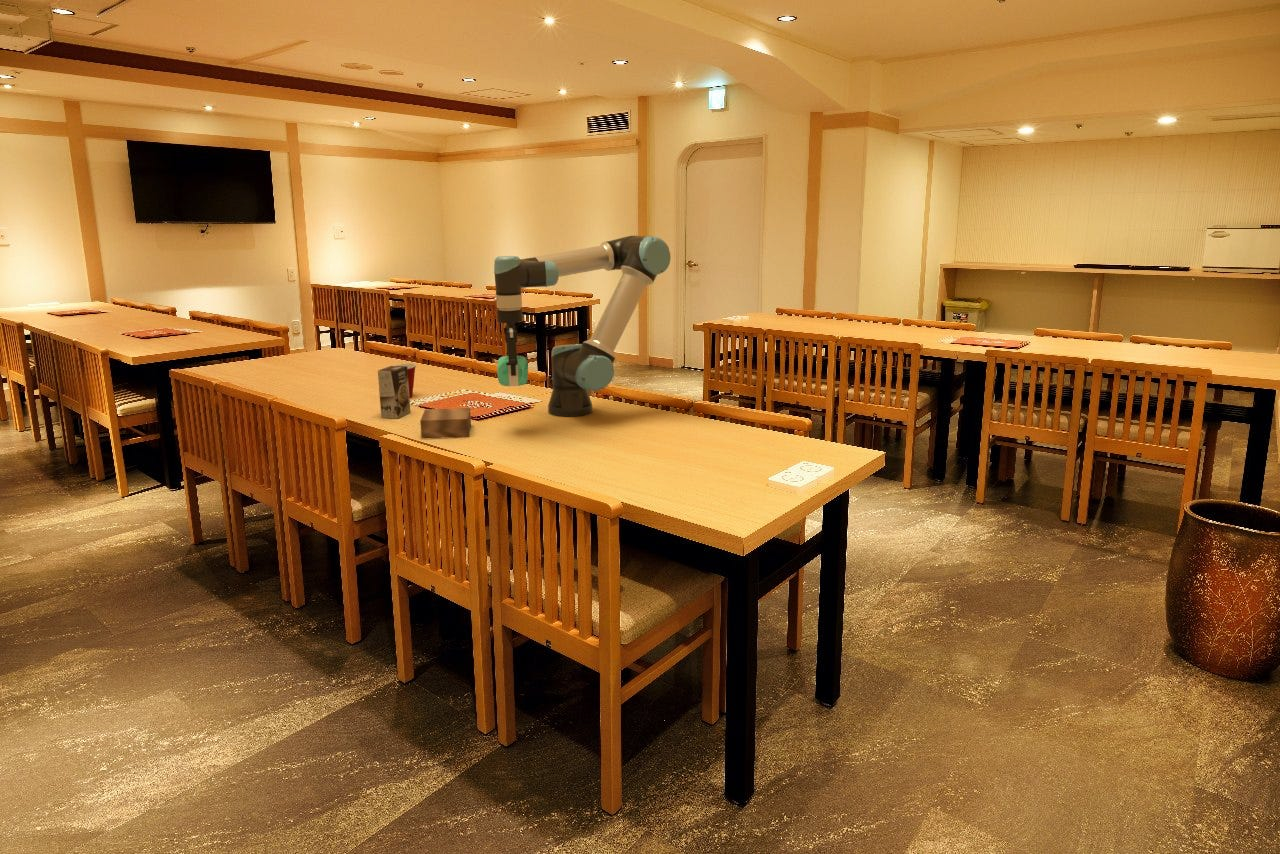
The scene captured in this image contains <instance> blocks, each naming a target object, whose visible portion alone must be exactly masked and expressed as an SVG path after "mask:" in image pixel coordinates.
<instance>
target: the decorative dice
mask: <svg viewBox="0 0 1280 854" xmlns="http://www.w3.org/2000/svg"><path fill="white" fill-rule="evenodd" d="M508 361H509V360H508V356H507V355H505V356H501V357H499V358H498V360H497V365H496V366H497V367H496V371H497V381H498V383H499V384H500V385H501V386H504V387H510V386H509V370H508V365H506V363H508ZM517 361H518V364H517V366H518V385H519V386H518V387H520V386H524V385H526V384H527V383H528V379H529V365H528V360H527V357H525V356H523V355H518V356H517Z"/></svg>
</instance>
